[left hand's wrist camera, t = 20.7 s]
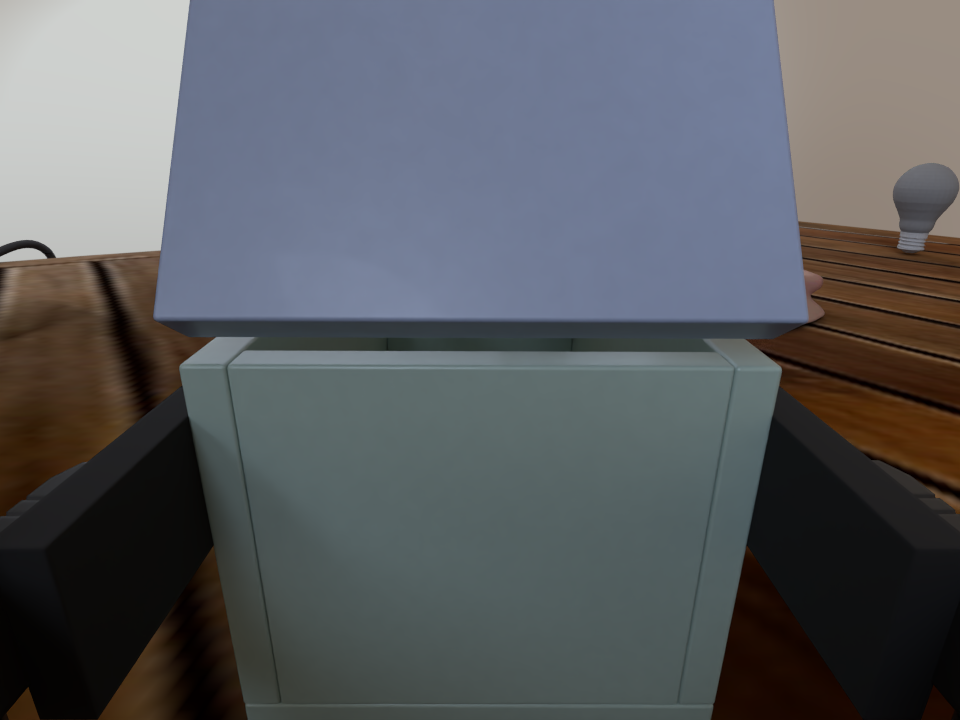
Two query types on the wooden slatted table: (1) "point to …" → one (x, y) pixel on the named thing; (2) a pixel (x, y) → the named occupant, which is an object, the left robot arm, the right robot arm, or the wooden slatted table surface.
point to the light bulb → (922, 202)
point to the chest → (479, 521)
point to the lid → (481, 171)
